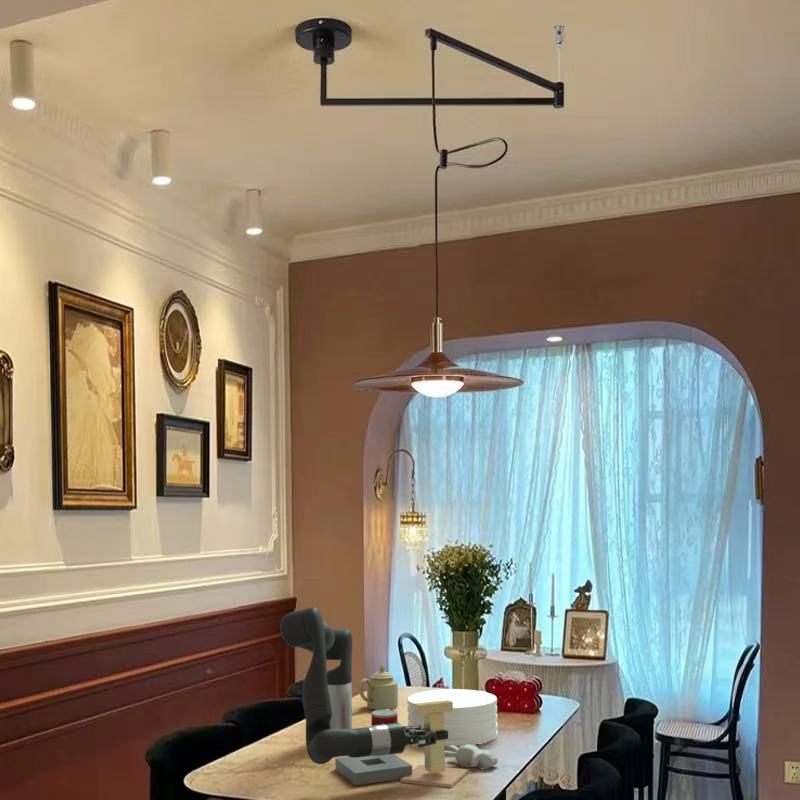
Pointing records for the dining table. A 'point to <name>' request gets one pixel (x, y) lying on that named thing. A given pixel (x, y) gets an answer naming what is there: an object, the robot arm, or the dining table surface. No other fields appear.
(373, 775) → the cover plate
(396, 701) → the sugar bowl
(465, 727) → the plate stack
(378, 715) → the canned food
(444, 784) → the tile
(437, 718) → the t key
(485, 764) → the bunny figurine
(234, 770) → the dining table surface
